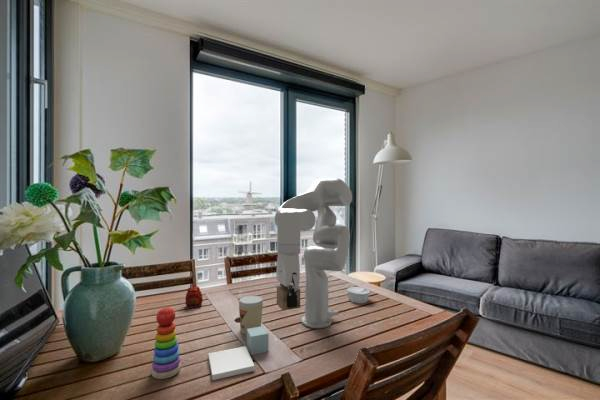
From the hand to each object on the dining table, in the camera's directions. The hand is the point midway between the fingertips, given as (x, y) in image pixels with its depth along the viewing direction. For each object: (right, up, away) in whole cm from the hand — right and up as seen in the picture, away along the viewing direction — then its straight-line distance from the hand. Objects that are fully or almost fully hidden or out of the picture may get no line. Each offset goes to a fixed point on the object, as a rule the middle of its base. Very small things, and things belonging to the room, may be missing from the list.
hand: (288, 302), depth 93 cm
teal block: (-11, -17, +4) cm, 21 cm away
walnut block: (0, -1, 0) cm, 1 cm away
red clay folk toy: (-46, -16, +41) cm, 64 cm away
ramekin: (+33, -17, +51) cm, 63 cm away
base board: (-18, -17, -5) cm, 25 cm away
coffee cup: (-15, -17, +17) cm, 29 cm away
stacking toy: (-35, -17, -10) cm, 40 cm away
